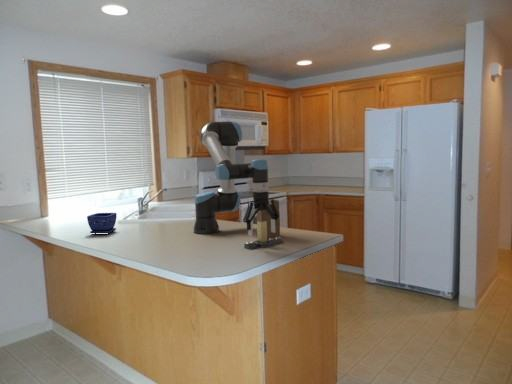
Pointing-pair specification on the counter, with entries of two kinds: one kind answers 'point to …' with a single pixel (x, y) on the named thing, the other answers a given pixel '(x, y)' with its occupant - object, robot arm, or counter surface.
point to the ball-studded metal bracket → (261, 245)
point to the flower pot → (102, 222)
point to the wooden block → (265, 216)
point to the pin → (262, 231)
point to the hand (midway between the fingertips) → (262, 234)
